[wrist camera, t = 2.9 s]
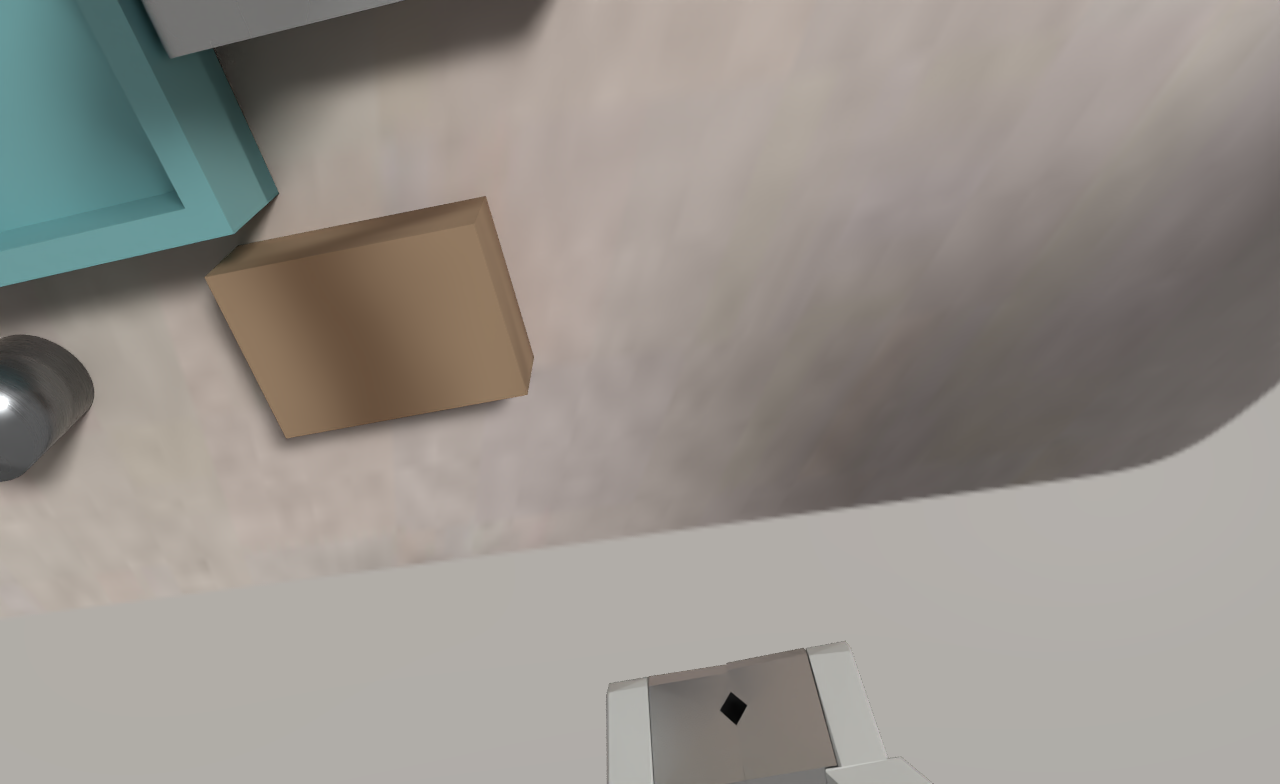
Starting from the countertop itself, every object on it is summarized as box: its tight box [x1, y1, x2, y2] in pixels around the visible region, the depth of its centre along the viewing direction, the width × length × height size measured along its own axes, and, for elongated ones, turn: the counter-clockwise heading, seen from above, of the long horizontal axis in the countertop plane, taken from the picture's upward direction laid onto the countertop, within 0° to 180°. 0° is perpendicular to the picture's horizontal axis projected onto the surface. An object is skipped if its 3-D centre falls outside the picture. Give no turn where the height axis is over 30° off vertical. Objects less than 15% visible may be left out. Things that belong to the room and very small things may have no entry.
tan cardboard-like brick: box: [204, 196, 534, 438], centre depth 23 cm, size 7×5×2 cm
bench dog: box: [0, 335, 94, 482], centre depth 23 cm, size 3×3×3 cm
